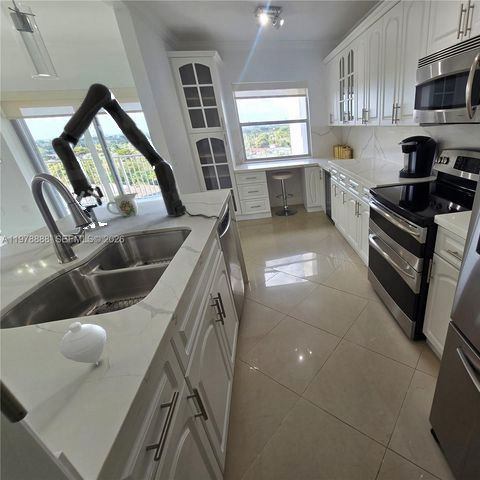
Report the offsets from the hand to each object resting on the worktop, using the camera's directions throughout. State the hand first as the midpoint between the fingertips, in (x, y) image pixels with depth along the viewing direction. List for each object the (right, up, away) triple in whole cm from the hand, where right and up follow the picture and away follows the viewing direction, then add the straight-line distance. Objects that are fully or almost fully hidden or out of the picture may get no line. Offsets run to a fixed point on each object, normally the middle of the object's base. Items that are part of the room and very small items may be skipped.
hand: (91, 207), depth 141 cm
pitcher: (+2, -3, +26) cm, 26 cm away
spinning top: (+74, -47, -81) cm, 120 cm away
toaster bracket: (-7, -10, +9) cm, 16 cm away
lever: (-3, -2, +3) cm, 5 cm away
